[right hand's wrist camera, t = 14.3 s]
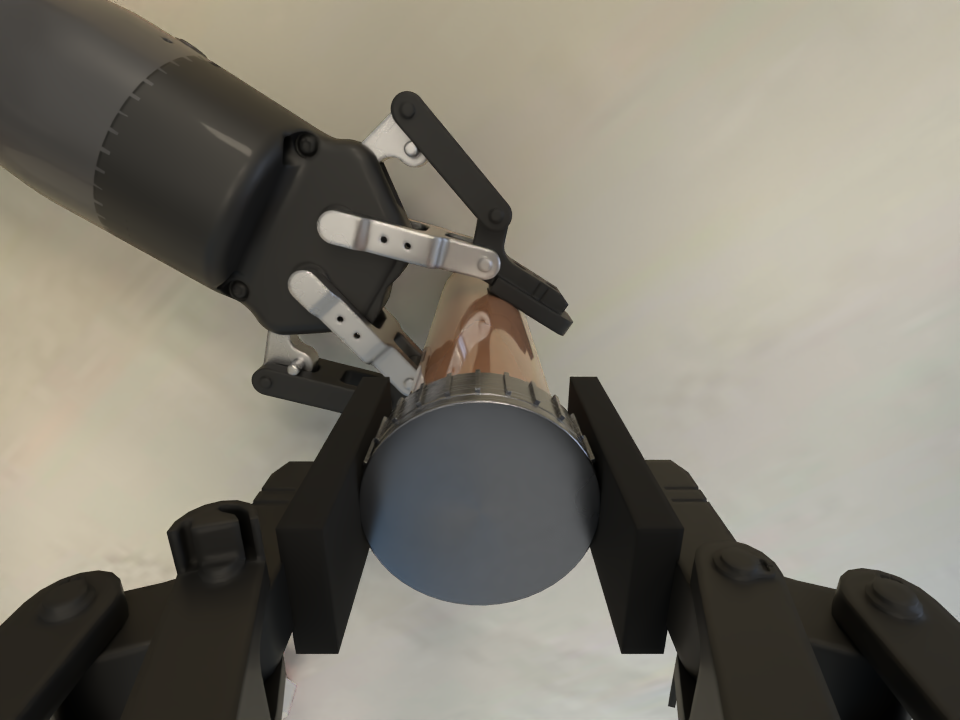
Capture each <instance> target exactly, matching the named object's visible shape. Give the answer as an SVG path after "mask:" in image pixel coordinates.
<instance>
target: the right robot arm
mask: <svg viewBox="0 0 960 720" xmlns="http://www.w3.org/2000/svg"><path fill="white" fill-rule="evenodd" d="M391 412H392V404H391V389H390V377H363V378H362V379H361V381H360V383H359V384H358V386H357V388H356V390H355V391H354V393H353V395H352V397H351V398H350V400H349V402H348V403H347V405H346V407H345V409H344V410H343V412H342V414H341V416H340V417H339V419H338V421H337V423H336V424H335V426H334V428H333V429H332V431H331V433H330V435H329V436H328V438H327V440H326V442H325V443H324V445H323V447H322V449H321V450H320V452H319V454H318V455H317V457H316V459H315V461H314V462H288V463H287V464H285V465H284V466H282V467H281V468H280V469H278V470H277V471H275V472H274V473H273V474H271V476H270V477H269V479H268V480H267V482H266V483H265V485H264V486H263V487H262V491H260V492H259V493H258V495H257V496H256V497H255V499H254V500H253V504H250V503H247V502H243V501H239V500H230V501H219V502H215V503H211V504H206V505H203V506H201V507H199V508H197V509H194V510H192V511H190V512H188V513H186V514H185V515H184V516H182V517H181V518H179V519H178V520H177V521H175V522H174V523H173V525H172V526H171V527H170V529H169V530H168V531H167V536H168V539H169V543H170V547H171V551H172V555H173V559H174V563H175V567H176V571H177V577H176V579H174V580H170V581H167V582H164V583H159V584H155V585H151V586H146V587H142V588H137V589H133V590H129V591H123V587H122V584H121V581H120V579H119V578H118V577H117V576H116V575H115V574H113V573H112V572H106V571H99V570H98V571H91V572H83V573H79V574H76V575H72V576H70V577H66V578H64V579H61V580H59V581H57V582H55V583H53V584H51V585H49V586H48V587H46V588H44V589H42V590H40V591H39V592H38V593H36V594H35V595H34V596H32V597H31V598H30V599H28V600H27V601H26V602H25V603H23V604H22V605H21V606H20V607H19V608H18V609H17V610H16V611H15V612H14V613H13V614H12V615H11V616H10V617H9V618H8V619H7V620H6V621H5V622H4V623H3V624H2V625H1V626H0V720H282V712H283V702H284V692H285V682H286V670H285V663H284V657H283V653H284V650H285V648H286V646H287V643H288V641H289V638H290V636H291V633H292V632H293V638H294V644H295V650H296V654H338V653H339V650H340V646H341V643H342V639H343V636H344V633H345V629H346V626H347V622H348V619H349V616H350V612H351V609H352V605H353V602H354V599H355V595H356V592H357V589H358V585H359V582H360V578H361V575H362V572H363V568H364V565H365V561H366V558H367V555H368V551H369V548H370V546H369V544H368V542H367V540H366V538H365V535H364V533H363V530H362V527H361V519H360V509H359V486H360V482H361V478H362V474H363V472H364V469H365V467H366V466H362V464H363V461H364V459H365V456H366V454H367V451H368V449H369V446H370V444H371V441H372V439H373V438H375V436H376V433H377V431H378V428H379V426H380V423H381V421H382V418H383V417H384V416H385V417H388V416H389V415H390V413H391ZM568 413H569V414H570V415H571V414H574V415H575V416H576V419H577V421H578V424H579V426H580V429H581V432H582V434H583V436H584V435H586V437H587V440H588V442H589V445H590V447H591V450H592V452H593V455H594V457H595V460H596V462H595V463H593V465H594V468H595V471H596V474H597V476H598V479H599V485H600V490H601V505H600V516H599V524H598V528H597V531H596V534H595V536H594V539H593V541H592V543H591V545H590V549H591V552H592V556H593V559H594V562H595V566H596V569H597V573H598V576H599V579H600V583H601V586H602V590H603V593H604V596H605V600H606V603H607V606H608V610H609V613H610V617H611V620H612V623H613V627H614V630H615V634H616V637H617V640H618V644H619V647H620V651H621V654H664V648H665V642H666V636H667V630H668V632H669V634H670V636H671V639H672V641H673V644H674V646H675V649H676V651H677V657H676V663H675V669H674V674H673V680H672V685H671V691H670V697H669V704H668V706H670V707H674V708H675V705H676V700H677V710H678V720H911V719H913V720H960V623H959V622H958V621H957V620H956V619H955V618H954V617H953V616H952V615H951V614H950V613H949V612H948V611H947V610H946V609H945V608H944V607H943V606H942V605H941V604H940V603H938V602H937V601H936V600H935V599H934V598H932V597H931V596H930V595H929V594H927V593H926V592H925V591H923V590H922V589H921V588H919V587H917V586H915V585H913V584H912V583H910V582H908V581H906V580H904V579H902V578H900V577H897V576H895V575H892V574H889V573H885V572H882V571H879V570H871V569H864V568H860V569H853V570H848V571H847V572H845V573H844V574H843V575H842V576H841V577H840V580H839V583H838V586H837V589H832V588H828V587H823V586H819V585H814V584H810V583H806V582H801V581H797V580H793V579H790V578H787V577H784V576H783V574H782V572H781V571H780V569H779V568H778V566H777V565H776V564H775V562H774V561H772V560H771V559H770V558H769V557H767V556H766V555H765V554H764V553H762V552H761V551H759V550H757V549H755V548H753V547H751V546H748V545H746V544H743V543H739V542H736V540H735V539H734V537H733V536H732V534H731V533H730V532H729V530H728V529H727V527H726V526H725V524H724V523H723V522H722V520H721V519H720V517H719V516H718V514H717V513H716V512H715V510H714V509H713V507H712V506H711V504H710V503H709V502H707V499H706V497H705V496H704V494H703V493H702V491H701V490H698V486H697V484H696V483H695V481H694V480H693V479H692V477H691V476H690V474H689V473H688V472H687V471H686V470H684V469H683V468H681V467H680V466H678V465H677V464H676V463H674V462H673V461H671V460H645V459H644V458H643V456H642V454H641V453H640V451H639V449H638V447H637V446H636V444H635V442H634V440H633V439H632V437H631V435H630V433H629V432H628V430H627V428H626V427H625V425H624V423H623V421H622V420H621V418H620V416H619V414H618V413H617V411H616V409H615V407H614V406H613V404H612V402H611V401H610V399H609V397H608V395H607V394H606V392H605V390H604V388H603V387H602V385H601V383H600V381H599V380H598V378H597V377H570V385H569V400H568Z"/></svg>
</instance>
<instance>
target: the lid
mask: <svg viewBox="0 0 960 720" xmlns="http://www.w3.org/2000/svg"><path fill="white" fill-rule="evenodd" d="M595 462H596V460H595V457H594V455H593V452H592V450H591V447H590V445H589V442H588V440H587V437H586V435H584V436H583V434H582V432H581V429H580V426H579V424H578V421H577V419H576V416H575V415H574V414H571V415H570V414H569V413H568V412H567V410H566V409H565V408H564V407H563V406H562V405H561V404H560V401H559V398H558V397H557V396H556V395H554V396H553V397H552V396H551V395H549V394H548V393H547V392H545V391H544V390H542V389H540V388H538V387H537V386H536V383H535V382H534V381H531V382H530V383H528V382H526V381H523V380H521V379H518V378H515V377H511V376H509V373H508V372H504V375H502V374H495V373H480V369H476V370H475V372H473V373H464V374H457V375H453V376H452V373H448V374H447V376H446V377H444V378H442V379H439V380H436V381H433V382H431V383H429V384H427V385H426V383H425V382H424V383H422V384H421V385H420V388H419V389H417V390H416V391H414V392H413V393H412V394H410V395H409V396H407V397H406V398H405V399H404V398H403V397H401V398H400V399H399V400H398V403H397V406H396V407H395V409H394V410H393V411H392V412H391V413H390V415H389V416H388V417H385V416H384V417H383V418H382V421H381V423H380V426H379V428H378V431H377V433H376V436H375V438H373V439H372V441H371V444H370V446H369V449H368V451H367V454H366V456H365V459H364V461H363V464H362V466H366V467H365V469H364V472H363V474H362V478H361V482H360V486H359V509H360V519H361V527H362V530H363V533H364V535H365V538H366V540H367V542H368V544H369V546H370V548H371V549H372V551H373V553H374V554H375V556H376V557H377V558H378V560H379V561H380V562H381V563H382V565H383V566H384V567H385V568H386V569H387V570H388V571H389V572H390V573H391V574H393V575H394V576H395V577H397V578H398V579H399V580H400V581H402V582H403V583H405V584H406V585H408V586H410V587H411V588H413V589H415V590H417V591H419V592H421V593H423V594H425V595H428V596H430V597H433V598H436V599H439V600H443V601H447V602H452V603H457V604H465V605H494V604H502V603H508V602H513V601H516V600H520V599H523V598H526V597H529V596H531V595H534V594H536V593H539V592H541V591H543V590H544V589H546V588H548V587H550V586H552V585H553V584H555V583H556V582H558V581H559V580H560V579H562V578H563V577H564V576H566V575H567V574H568V573H569V572H570V571H571V570H572V569H573V568H574V567H575V566H576V565H577V564H578V562H579V561H580V560H581V559H582V558H583V556H584V555H585V553H586V552H587V550H588V548H589V547H590V545H591V543H592V541H593V539H594V536H595V534H596V531H597V528H598V524H599V516H600V505H601V490H600V485H599V479H598V476H597V474H596V471H595V468H594V465H593V463H595Z"/></svg>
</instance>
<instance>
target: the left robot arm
mask: <svg viewBox="0 0 960 720" xmlns="http://www.w3.org/2000/svg"><path fill="white" fill-rule="evenodd" d="M389 158H398V159H399V160H401V161H402V162H403V163H404V164H406V165H407V166H410V167H421V166H423V165H425V164H426V163H427V162H428V161H429V162H430V163H431V165H432V166H433V167H434V168H435V169H436V171H437V172H438V173H439V174H440V175H441V176H442V178H443V179H444V180H445V181H446V182H447V183H448V185H449V186H450V187H451V188H452V189H453V190H454V192H455V193H456V194H457V195H458V196H459V197H460V199H461V200H462V201H463V202H464V203H465V205H466V206H467V207H468V208H469V209H470V210H471V212H472V213H473V214H474V215H475V216H476V217H477V224H476V229H475V234H474V238H473V237H469V236H466V235H462V234H458V233H455V232H451V231H449V230H447V229H444V228H441V227H437V226H434V225H430V224H426V223H423V222H419V221H415V220H412V219H408V217H407V215H406V213H405V210H404V208H403V206H402V203H401V201H400V199H399V197H398V194H397V192H396V190H395V187H394V185H393V183H392V181H391V178H390V176H389V174H388V172H387V169H386V167H385V165H384V161H385V160H387V159H389ZM0 166H2V167H3V168H5V169H6V170H8V171H9V172H10V173H12V174H13V175H14V176H16V177H17V178H18V179H20V180H21V181H23V182H24V183H25V184H27V185H28V186H29V187H31V188H32V189H34V190H35V191H37V192H38V193H40V194H41V195H43V196H45V197H46V198H48V199H50V200H51V201H53V202H55V203H56V204H58V205H60V206H62V207H64V208H66V209H67V210H69V211H71V212H73V213H75V214H76V215H78V216H80V217H82V218H84V219H86V220H87V221H89V222H91V223H93V224H95V225H97V226H98V227H100V228H102V229H104V230H106V231H108V232H109V233H111V234H113V235H114V236H116V237H118V238H120V239H122V240H123V241H125V242H127V243H129V244H131V245H132V246H134V247H136V248H138V249H140V250H141V251H143V252H145V253H147V254H149V255H151V256H152V257H154V258H156V259H158V260H160V261H161V262H163V263H165V264H167V265H169V266H171V267H172V268H174V269H176V270H178V271H180V272H181V273H183V274H185V275H187V276H189V277H190V278H192V279H194V280H196V281H198V282H199V283H201V284H203V285H205V286H207V287H208V288H210V289H212V290H214V291H216V292H218V293H221V294H223V295H226V296H228V297H231V298H233V299H235V300H237V301H239V302H241V303H242V304H244V305H245V306H246V307H247V308H248V309H249V310H250V311H251V312H252V313H253V314H254V316H255V317H256V319H257V320H258V321H259V323H260V324H261V325H262V326H263V327H264V328H266V329H267V330H268V336H267V344H266V351H265V359H264V364H263V366H261V367H260V368H259V369H258V370H257V371H256V372H255V373H254V374H253V376H252V384H253V386H254V388H255V389H256V390H257V391H258V392H259V393H261V394H264V395H268V396H272V397H276V398H281V399H285V400H289V401H293V402H297V403H301V404H306V405H310V406H314V407H318V408H322V409H326V410H331V411H335V412H339V413H342V412H343V410H344V409H345V407H346V405H347V403H348V402H349V400H350V398H351V397H352V395H353V393H354V391H355V390H356V388H357V386H358V384H359V383H360V381H361V379H362V378H363V377H390V389H391V404H392V410H394V409H395V407H396V406H397V403H398V400H399V399H400V398H401V397H403V398H404V399H405V398H406V397H407V396H409V393H410V390H411V387H412V383H413V380H414V377H415V374H416V371H417V368H418V365H419V362H420V359H421V355H422V350H421V349H420V348H419V347H418V346H417V345H416V344H415V343H414V342H413V341H412V340H411V339H410V338H409V337H408V336H407V335H406V334H405V333H404V332H403V330H402V329H401V327H400V324H399V323H398V321H397V320H396V319H395V318H394V317H393V316H392V314H391V313H390V312H389V311H388V310H387V309H386V308H385V307H384V306H385V304H386V302H387V300H388V299H389V296H390V292H391V288H392V284H393V282H394V281H395V280H396V279H397V278H398V277H399V276H400V274H401V273H402V272H403V271H404V269H405V268H406V267H407V265H408V264H409V263H411V264H415V265H419V266H423V267H427V268H432V269H444V270H447V271H451V272H455V273H459V274H463V275H466V276H470V277H474V278H478V279H481V280H483V281H484V282H486V283H488V285H489V292H491V293H492V294H494V295H495V296H497V297H499V298H500V299H502V300H504V301H506V302H507V303H509V304H511V305H512V306H513V307H515V308H517V309H518V310H520V311H521V312H523V313H525V314H526V315H528V316H530V317H531V318H533V319H534V320H536V321H538V322H539V323H541V324H543V325H544V326H546V327H547V328H549V329H551V330H552V331H554V332H556V333H557V334H559V335H562V336H564V334H565V333H566V332H567V330H568V329H569V327H570V326H571V324H572V323H573V321H572V319H571V318H570V316H569V315H568V313H567V312H566V311H564V310H565V309H566V308H567V306H568V303H567V302H566V300H565V299H564V297H563V296H562V295H561V293H560V292H559V290H558V289H557V287H555V286H554V285H552V284H551V283H549V282H547V281H546V280H544V279H543V278H541V277H540V276H538V275H536V274H535V273H533V272H532V271H530V270H529V269H527V268H525V267H524V266H522V265H521V264H519V263H518V262H516V261H514V260H513V259H511V258H510V257H509V256H508V255H507V254H506V253H505V251H504V243H505V238H506V234H507V229H508V226H509V224H510V222H511V219H512V211H511V208H510V206H509V205H508V203H507V202H506V201H505V200H504V199H503V197H502V196H501V195H500V194H499V193H498V191H497V190H496V189H495V188H494V186H493V185H492V184H491V183H490V182H489V180H488V179H487V178H486V177H485V176H484V174H483V173H482V172H481V171H480V170H479V168H478V167H477V166H476V165H475V163H474V162H473V161H472V160H471V159H470V157H469V156H468V155H467V154H466V153H465V151H464V150H463V149H462V148H461V146H460V145H459V144H458V143H457V142H456V140H455V139H454V138H453V137H452V136H451V134H450V133H449V132H448V131H447V130H446V128H445V127H444V126H443V125H442V123H441V122H440V121H439V120H438V119H437V117H436V116H435V115H434V114H433V113H432V111H431V110H430V109H429V108H428V107H427V105H426V104H425V103H424V102H423V100H422V99H421V98H420V97H419V96H418V95H417V94H415V93H413V92H410V91H404V92H401V93H399V94H397V95H396V96H395V98H394V99H393V101H392V104H391V113H390V114H389V115H388V116H387V117H386V118H385V119H384V120H383V121H382V122H381V123H380V124H379V125H378V126H377V127H376V128H375V129H374V130H373V131H372V132H371V133H370V134H369V135H368V136H367V137H366V138H365V140H364V141H363V142H359V141H355V140H350V139H336V138H333V137H331V136H329V135H327V134H325V133H323V132H322V131H320V130H318V129H317V128H315V127H314V126H312V125H311V124H309V123H307V122H306V121H304V120H303V119H301V118H300V117H298V116H296V115H295V114H293V113H292V112H290V111H289V110H287V109H286V108H284V107H282V106H281V105H279V104H278V103H276V102H275V101H273V100H271V99H270V98H268V97H267V96H265V95H264V94H262V93H260V92H259V91H257V90H256V89H254V88H253V87H251V86H249V85H248V84H246V83H245V82H243V81H242V80H240V79H239V78H237V77H235V76H234V75H232V74H231V73H229V72H228V71H226V70H224V69H223V68H221V67H220V66H218V65H217V64H215V63H213V62H211V61H210V60H208V59H207V57H206V56H205V55H204V54H203V53H202V52H200V51H199V50H198V49H197V48H195V47H194V46H192V45H191V44H189V43H188V42H186V41H184V40H183V39H178V38H174V37H173V36H171V35H170V34H168V33H166V32H165V31H163V30H162V29H160V28H158V27H157V26H155V25H154V24H152V23H151V22H149V21H147V20H145V19H144V18H142V17H140V16H139V15H137V14H135V13H133V12H131V11H129V10H127V9H125V8H123V7H121V6H119V5H117V4H115V3H113V2H110V1H108V0H0ZM326 332H333V333H334V334H335V335H336V336H337V337H338V338H339V339H340V340H341V341H342V342H343V343H344V344H345V345H346V346H347V347H348V348H349V349H351V350H352V351H353V352H354V353H355V354H356V355H357V356H358V357H359V358H360V359H361V360H362V361H363V362H364V363H366V364H371V365H373V366H374V367H375V368H377V369H378V370H379V371H380V372H381V373H382V374H381V373H377V372H373V371H369V370H365V369H361V368H357V367H353V366H349V365H345V364H341V363H337V362H333V361H329V360H324V359H320V358H319V357H318V354H317V352H316V350H315V349H314V348H312V347H311V346H308V345H306V344H304V343H303V342H302V341H301V340H300V339H299V337H298V335H297V334H311V333H326ZM357 333H358V334H359V335H358V334H357Z"/></svg>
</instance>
